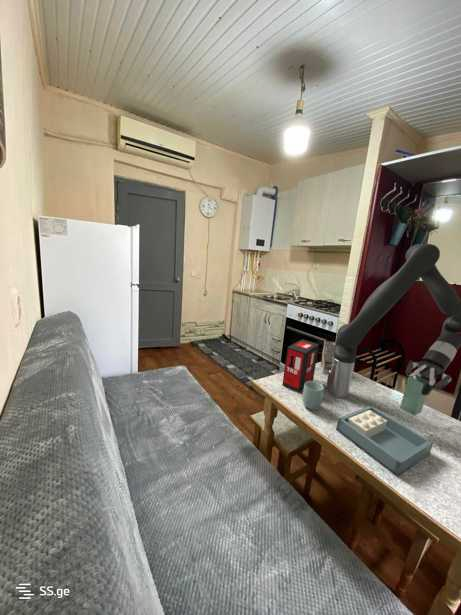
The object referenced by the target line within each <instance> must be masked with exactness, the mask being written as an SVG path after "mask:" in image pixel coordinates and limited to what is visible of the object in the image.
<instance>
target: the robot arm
mask: <svg viewBox="0 0 461 615" xmlns="http://www.w3.org/2000/svg"><path fill="white" fill-rule="evenodd" d="M440 256H441V252H440V249H439V248H438V246H436V244H432V243H417V244H414V245H412V246H411V247H409V248H408V249H407V251H406V253H405V260H406V261H405V263H404V264H403V265H402V266H401V267H400V268H399V269H398V271H397V272H395V273H394V274H393V275H392V276H390V277H389V278H387V279H386V280H385V281H384V282H382V283H380V285H379V286H378V287H376V289H375V290H374V291H372V293H371V294H370V295H369V296H368V298H367V299H366V300H365V302H364V303H363V305H362V307H361V309H360V311H359V313H358V314H357V315H356V317H355V318H354V319H353V320H352V321H351V322H350V323H346V324H343V325H341V326H340V327H339V328H338V329H337V333H336V338H335V342H336V343H335V349H334V356H333V362H332V367H331V370H330V371H329V373H328V374H327V378H326V379H327V380H326V386H325V390H326V391H327V392H328V393H329V394H330V395H331V396H334V397H337V398H343V399H344V398H348V397H349V393H350V387H351V383H352V377H353V373H354V369H355V363H356V359H357V349H358V346H359V344H360V343H361V342H362V340H363V339H364V338H365V337H366V335H367V334H368V332H369V331H370V330H371V329H372V328H373V326H374V325H376V324H377V323H378V322H380V320H381V319H382V318H383V317H384V316H385V315H386V314H387V313H388V312H389V311H390V310H391V309H392V308H393V307H394V306H395V305H396V303H398V302H399V300H400V299H401V298H402V297H403V296H404V295H405V294H406V292H407V291H408V290H409V289H410V288H411V286H413V285H414V284H415V282H417V280H419V279H421V280H422V282H423V283H424V285H425V287H426V288H427V290H428V291H429V293H430V295H431V297H432V298H433V299H434V302H435V303H436V306H437V307H438V309H439V310H440V311H441V313H442V314H444V315H449V317H447V318H446V319H445V320H444V321H443V324H442V326H441V327H442V328H441V330H440V332H441V333H440V335H439V336H438V337H437V339H436V340H435V342H434V343H433V344H431V346H430V347H429V348H428V350H427V352H426V353H425V355H424V356H423V357H422V359H421V361H418V362H414V361H413V360H412V359H411V360H408V364H407V367H406V370H405V375H406V377H411V376H414V375H417V376H419V377H422V378H423V377H424V378H426V379H427V380H428V379H429V380H428V381H429V385H427V386H426V388H425V389H424V391H423V392H422V393H423V395H424V396H426V397H427V396H429V395H430V393H431V392H432V391H433V390H434V389H435V390H438V391H440V390H442V389H443V388H444V387H446V386H447V385H448V384H450V383H451V382H452V377H451V375H449V374H446V373H445V371H446V369H447V368H448V367H449V366H450V364H451V363H452V362H453V360H454V358H455V356H456V354H457V352H458V351H459V349H460V348H461V299H460V297H459V295H458V293H457V292H456V290H455V289H454V288H453V286H452V285H451V284H450V283H449V282H448V281H447V279H445V278H444V276H443V274H441V272H440V270H439V269H438V268H437V265H436V264H437V262H438V261H439V259H440ZM459 334H460V335H459ZM416 367H417V369H416ZM413 369H415V370H414V371H413ZM439 378H441V380H439V381H438V382H437V383H436V379H439ZM407 381H408V378H407V379H406V381H405V386H406V385H407Z"/></svg>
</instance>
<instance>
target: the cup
mask: <svg viewBox="0 0 461 615" xmlns="http://www.w3.org/2000/svg"><path fill="white" fill-rule="evenodd" d="M302 391H303V392H302V403H303V406H304V407H306V408H307V409H308V410H312V411H313V410H314V411H315V410H318V409H319V408H320V406H321V405H322V402H323V398H324V397H323V396H324V392H325V387H324V386H323V384H321V383H320V382H317V381H314V380H313V381H307V382H305V384H304V389H303V390H302Z"/></svg>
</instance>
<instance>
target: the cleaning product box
mask: <svg viewBox="0 0 461 615" xmlns="http://www.w3.org/2000/svg"><path fill="white" fill-rule="evenodd" d="M319 347H320V344H319V343H316V342H313V341H309V340H306V339H301V340H298V341H297V342H294V343H293V344H291V345H289V346H288V347H287V349H286V354H285V355H286V356H285V363H284V364H285V365H284V368H283V369H284V370H283V378H282V384H281V386H282V387H285V388H287V389H289V390H290V391H293V392H295V393H296V392H297V394H300V393H301V392H302V391H303V389H304V384H305V382H307V381H314V377H315V372H316V364H317V358H318V355H319V354H318V353H319Z"/></svg>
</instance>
